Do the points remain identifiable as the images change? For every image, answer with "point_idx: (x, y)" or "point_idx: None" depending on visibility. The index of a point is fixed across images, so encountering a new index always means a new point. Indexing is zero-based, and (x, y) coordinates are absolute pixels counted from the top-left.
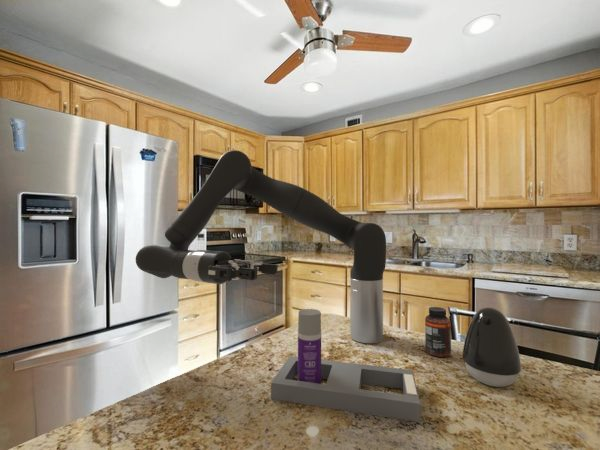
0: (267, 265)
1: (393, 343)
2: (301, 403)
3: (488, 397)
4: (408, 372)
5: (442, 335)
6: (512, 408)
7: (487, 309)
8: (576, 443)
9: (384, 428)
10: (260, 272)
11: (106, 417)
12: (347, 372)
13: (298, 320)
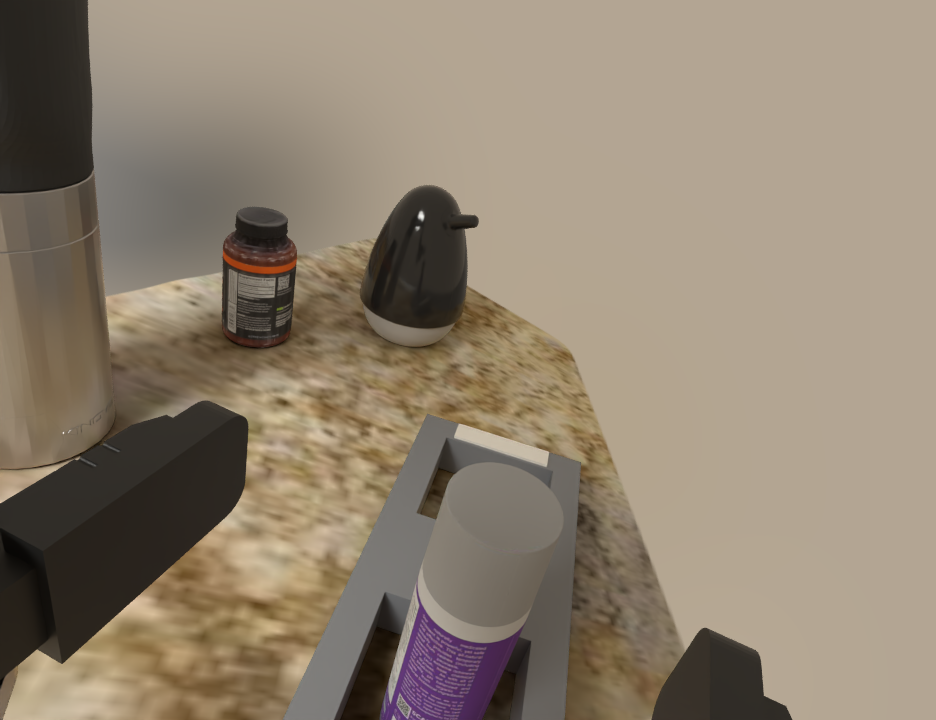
0: (138, 496)
1: (140, 378)
2: None
3: (466, 366)
4: (441, 425)
5: (293, 285)
6: (498, 360)
7: (440, 193)
8: (571, 357)
9: (605, 560)
10: (4, 684)
11: None
12: None
13: (508, 585)
